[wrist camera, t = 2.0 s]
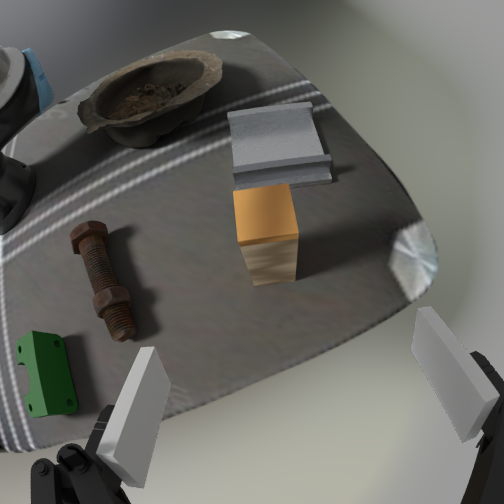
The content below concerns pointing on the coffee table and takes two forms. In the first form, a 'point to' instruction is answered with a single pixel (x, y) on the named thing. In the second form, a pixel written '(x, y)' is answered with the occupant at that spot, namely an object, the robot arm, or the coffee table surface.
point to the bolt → (103, 279)
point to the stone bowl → (151, 97)
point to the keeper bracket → (277, 147)
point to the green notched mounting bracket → (46, 375)
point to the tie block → (267, 233)
